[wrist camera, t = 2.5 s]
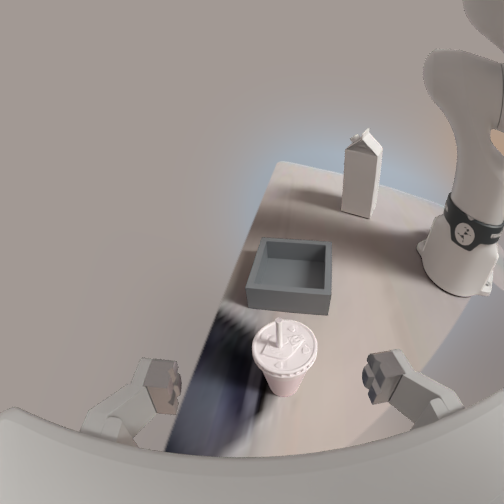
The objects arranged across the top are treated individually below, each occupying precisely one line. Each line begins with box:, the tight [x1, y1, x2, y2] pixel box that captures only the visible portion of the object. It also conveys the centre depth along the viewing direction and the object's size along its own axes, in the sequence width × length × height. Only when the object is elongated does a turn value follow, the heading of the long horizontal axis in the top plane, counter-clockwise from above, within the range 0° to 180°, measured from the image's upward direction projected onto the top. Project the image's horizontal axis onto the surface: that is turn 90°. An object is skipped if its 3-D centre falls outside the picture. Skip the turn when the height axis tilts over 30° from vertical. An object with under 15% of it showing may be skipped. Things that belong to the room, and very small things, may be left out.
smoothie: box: [252, 318, 317, 397], centre depth 27 cm, size 6×6×14 cm
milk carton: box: [341, 128, 383, 219], centre depth 55 cm, size 7×7×19 cm
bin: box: [245, 237, 332, 315], centre depth 43 cm, size 12×12×4 cm
